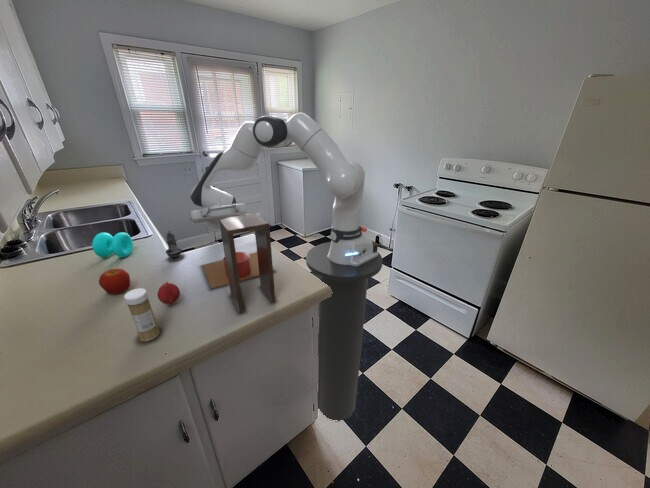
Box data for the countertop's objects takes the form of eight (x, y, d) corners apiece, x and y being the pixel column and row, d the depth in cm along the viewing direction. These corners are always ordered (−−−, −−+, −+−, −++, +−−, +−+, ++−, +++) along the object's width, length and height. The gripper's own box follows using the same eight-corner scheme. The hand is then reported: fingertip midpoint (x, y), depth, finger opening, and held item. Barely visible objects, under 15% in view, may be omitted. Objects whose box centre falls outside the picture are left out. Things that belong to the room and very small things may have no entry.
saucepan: (237, 251, 114) (236, 237, 112) (254, 274, 98) (252, 259, 95) (215, 255, 110) (213, 242, 107) (228, 281, 93) (226, 265, 91)
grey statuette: (185, 254, 112) (178, 227, 107) (182, 260, 107) (175, 232, 102) (169, 255, 110) (162, 228, 105) (165, 262, 105) (158, 234, 100)
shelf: (263, 286, 91) (257, 213, 81) (275, 301, 84) (269, 223, 73) (231, 295, 86) (218, 219, 75) (239, 313, 78) (227, 230, 68)
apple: (110, 301, 83) (102, 279, 79) (99, 293, 86) (91, 272, 83) (137, 289, 89) (130, 268, 85) (126, 282, 92) (119, 262, 89)
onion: (156, 308, 80) (149, 286, 76) (169, 297, 85) (163, 275, 82) (174, 310, 79) (168, 288, 76) (186, 299, 84) (180, 277, 81)
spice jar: (160, 327, 73) (146, 285, 67) (159, 338, 69) (145, 295, 63) (140, 333, 71) (124, 290, 65) (138, 345, 67) (122, 300, 61)
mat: (257, 253, 114) (257, 252, 114) (274, 272, 100) (274, 271, 100) (202, 266, 103) (202, 265, 103) (211, 289, 89) (211, 288, 89)
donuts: (112, 250, 114) (104, 228, 110) (137, 250, 114) (130, 228, 110) (95, 262, 105) (86, 238, 101) (122, 261, 105) (114, 238, 101)
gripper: (187, 213, 104) (188, 203, 92) (240, 205, 114) (247, 195, 102) (191, 228, 104) (192, 221, 92) (244, 219, 114) (251, 211, 102)
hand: (222, 207), depth 97 cm, fingers open, 8 cm apart
